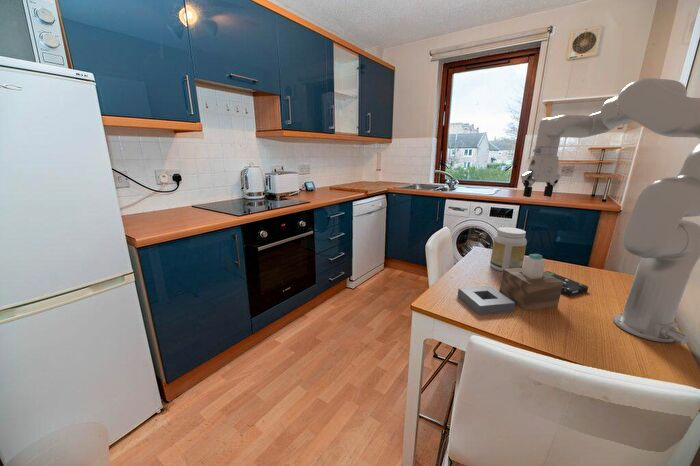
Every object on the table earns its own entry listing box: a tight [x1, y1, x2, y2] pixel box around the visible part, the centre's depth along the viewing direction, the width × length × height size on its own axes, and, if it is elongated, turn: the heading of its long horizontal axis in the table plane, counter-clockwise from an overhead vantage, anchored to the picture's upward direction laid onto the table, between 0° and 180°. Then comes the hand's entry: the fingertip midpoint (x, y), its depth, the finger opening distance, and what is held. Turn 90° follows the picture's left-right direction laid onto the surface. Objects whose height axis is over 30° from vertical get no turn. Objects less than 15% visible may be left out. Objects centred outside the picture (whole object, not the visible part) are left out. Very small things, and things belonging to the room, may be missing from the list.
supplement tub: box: [489, 226, 528, 272], centre depth 121 cm, size 12×12×17 cm
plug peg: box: [522, 253, 547, 279], centre depth 93 cm, size 4×4×11 cm
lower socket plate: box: [457, 285, 516, 316], centre depth 93 cm, size 12×12×3 cm
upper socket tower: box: [498, 267, 563, 311], centre depth 95 cm, size 12×12×9 cm
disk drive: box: [544, 270, 589, 297], centre depth 107 cm, size 10×3×15 cm
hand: (537, 196), depth 114 cm, fingers open, 9 cm apart
